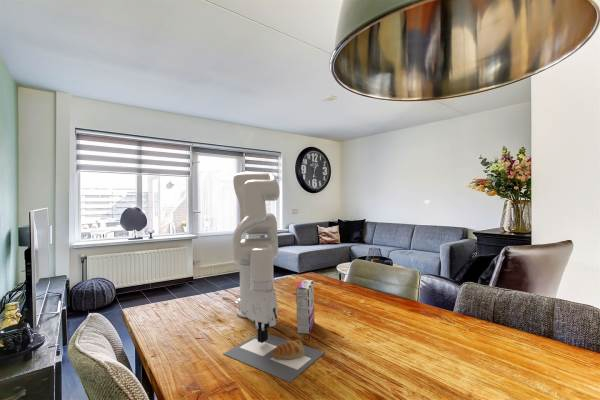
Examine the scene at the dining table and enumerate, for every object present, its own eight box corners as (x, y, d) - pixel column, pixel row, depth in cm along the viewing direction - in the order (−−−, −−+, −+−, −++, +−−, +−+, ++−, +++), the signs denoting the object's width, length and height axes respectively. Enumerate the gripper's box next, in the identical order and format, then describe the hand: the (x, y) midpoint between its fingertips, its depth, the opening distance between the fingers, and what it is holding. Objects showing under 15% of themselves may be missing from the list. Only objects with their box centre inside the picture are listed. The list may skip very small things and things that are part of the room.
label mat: (223, 354, 90) (223, 353, 90) (262, 332, 105) (262, 331, 105) (290, 382, 75) (290, 381, 75) (324, 352, 90) (324, 351, 90)
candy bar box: (302, 321, 114) (301, 279, 115) (314, 322, 113) (314, 280, 114) (296, 333, 103) (295, 287, 104) (310, 334, 102) (309, 288, 103)
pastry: (276, 364, 83) (276, 350, 83) (269, 353, 90) (269, 340, 90) (306, 357, 87) (306, 344, 87) (297, 347, 93) (297, 335, 93)
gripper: (237, 284, 97) (238, 339, 96) (272, 291, 88) (272, 352, 88) (253, 279, 103) (254, 331, 103) (287, 285, 94) (287, 342, 94)
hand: (262, 340), depth 95 cm, fingers closed
